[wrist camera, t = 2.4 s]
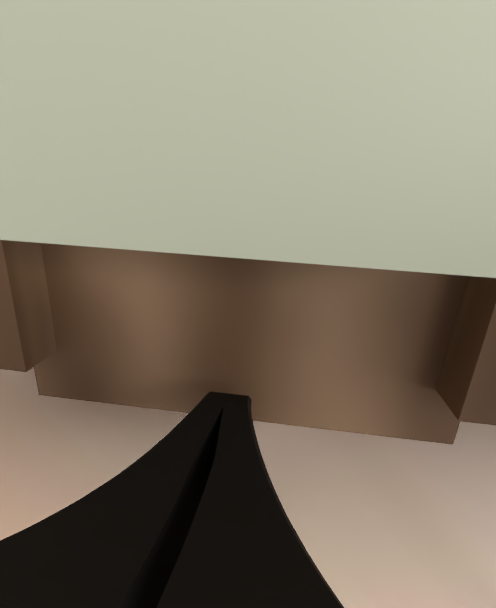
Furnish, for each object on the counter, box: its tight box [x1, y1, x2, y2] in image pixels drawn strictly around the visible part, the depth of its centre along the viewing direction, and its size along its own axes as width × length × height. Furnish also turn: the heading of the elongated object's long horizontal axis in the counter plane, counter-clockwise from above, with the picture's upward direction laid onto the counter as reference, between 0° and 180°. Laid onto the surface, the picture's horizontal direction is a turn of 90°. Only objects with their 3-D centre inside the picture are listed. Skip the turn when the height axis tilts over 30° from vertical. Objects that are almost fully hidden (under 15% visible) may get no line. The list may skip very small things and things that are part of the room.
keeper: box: [0, 0, 496, 278], centre depth 7 cm, size 10×4×4 cm, turn 87°
